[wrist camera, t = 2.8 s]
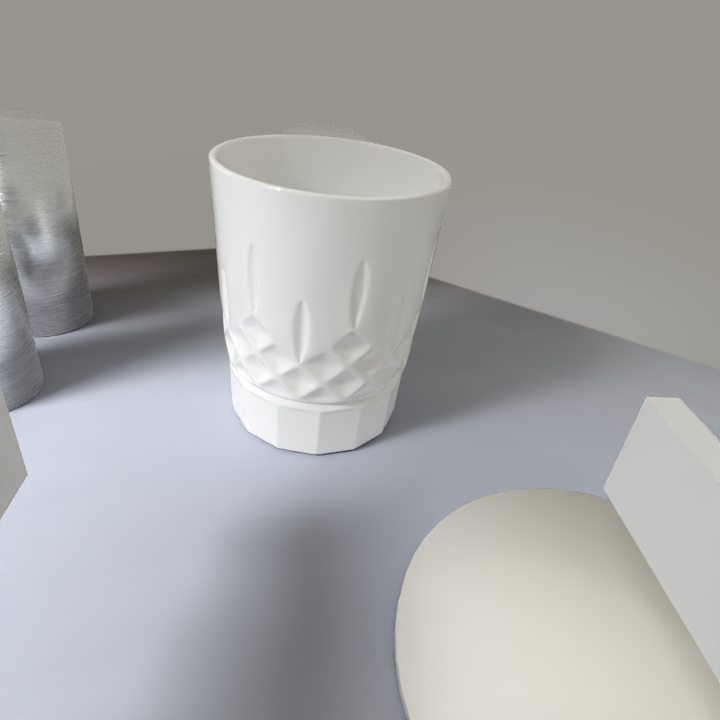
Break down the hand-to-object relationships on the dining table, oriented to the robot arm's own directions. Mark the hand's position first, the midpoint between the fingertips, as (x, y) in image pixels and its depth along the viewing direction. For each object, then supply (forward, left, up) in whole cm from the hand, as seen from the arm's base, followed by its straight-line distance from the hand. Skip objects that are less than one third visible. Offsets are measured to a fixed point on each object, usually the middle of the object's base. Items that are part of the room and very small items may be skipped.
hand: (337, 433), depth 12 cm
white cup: (-4, +9, -7) cm, 12 cm away
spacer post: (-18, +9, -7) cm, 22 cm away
